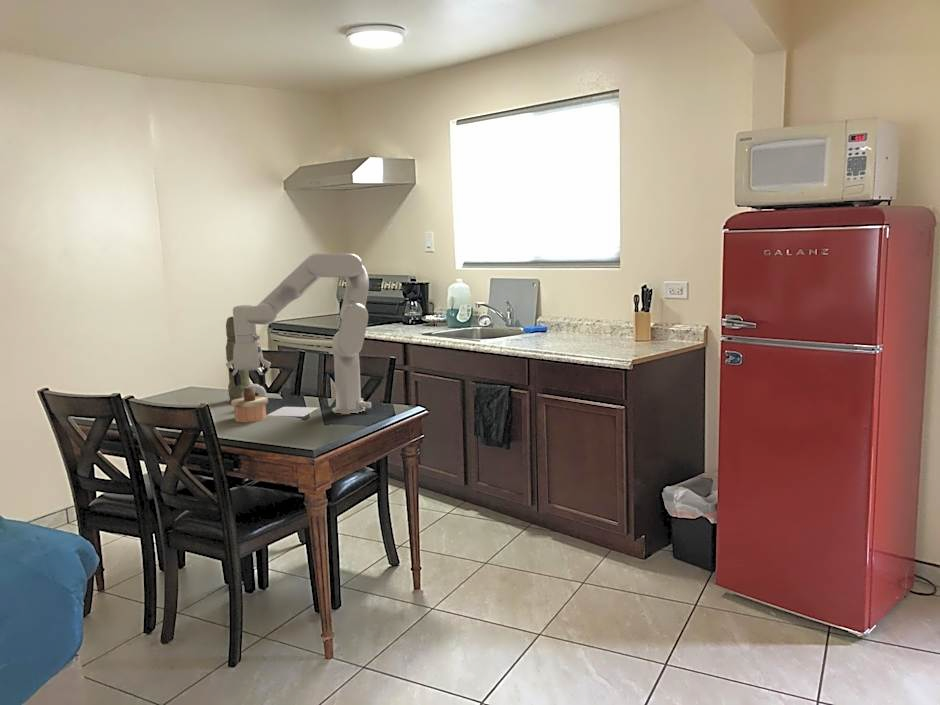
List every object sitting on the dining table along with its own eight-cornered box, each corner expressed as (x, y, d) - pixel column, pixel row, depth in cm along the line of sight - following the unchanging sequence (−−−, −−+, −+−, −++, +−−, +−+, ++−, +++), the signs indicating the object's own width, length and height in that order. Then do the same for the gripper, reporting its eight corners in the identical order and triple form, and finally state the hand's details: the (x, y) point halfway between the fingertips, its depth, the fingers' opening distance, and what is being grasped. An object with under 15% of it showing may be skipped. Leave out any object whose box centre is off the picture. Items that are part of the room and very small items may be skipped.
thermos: (236, 404, 299) (231, 318, 294) (224, 400, 308) (218, 316, 303) (257, 401, 305) (251, 316, 300) (244, 397, 314) (239, 315, 309)
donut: (243, 411, 287) (242, 386, 286) (240, 409, 290) (239, 384, 289) (268, 407, 293) (267, 382, 291) (265, 406, 296) (264, 381, 294)
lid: (274, 400, 278) (273, 385, 277) (258, 407, 265) (257, 392, 264) (242, 399, 280) (241, 384, 279) (224, 406, 268) (223, 391, 267)
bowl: (271, 416, 278) (270, 400, 277) (257, 423, 267) (256, 407, 266) (244, 415, 280) (243, 399, 279) (229, 422, 269) (228, 406, 268)
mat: (319, 408, 290) (319, 407, 290) (303, 417, 275) (303, 416, 275) (283, 407, 293) (283, 406, 293) (266, 416, 278) (266, 415, 278)
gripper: (272, 337, 271) (276, 383, 274) (229, 338, 275) (233, 383, 277) (263, 340, 264) (267, 387, 267) (219, 341, 267) (223, 387, 270)
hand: (250, 385), depth 272 cm, fingers open, 9 cm apart
